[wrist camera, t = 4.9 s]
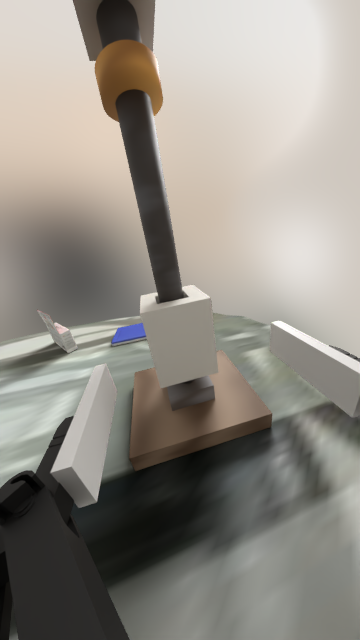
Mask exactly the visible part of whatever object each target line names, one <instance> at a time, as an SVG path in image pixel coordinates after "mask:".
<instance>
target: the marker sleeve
mask: <svg viewBox="0 0 360 640" xmlns="http://www.w3.org/2000/svg"><path fill="white" fill-rule="evenodd" d="M182 291H183V297H184V298H183V299H178V300H174V301H169V302H165V303H160V302H159V297H158V293H157V292H156V293H151V294H147V295H142V296H141V302H140V316H141V319H142V323H143V326H144V330H145V334H146V337H147V341H148V344H149V348H150V352H151V355H152V359H153V362H154V366H155V370H156V373H157V377H158V380H159V384H160V388H164V387H168V386H171V385H175V384H179V383H182V382H186V381H189V380H193V379H197V378H200V377H204V376H208V375H211V374H215V373H218V363H217V353H216V343H215V333H214V324H213V314H212V304H211V297H209V296H208V295H206V294H205V293H204V292H202V291H201V290H199V289H198V288H196V287H195V286H194V285H189V286H185V287H182Z"/></svg>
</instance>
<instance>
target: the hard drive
mask: <svg viewBox="0 0 360 640" xmlns="http://www.w3.org/2000/svg"><path fill="white" fill-rule="evenodd" d="M144 339H147V337H146V334H145V330H144V326H143V323H140V324H135V325H131V326H126V327H121V328H118V329H117V332H116V334H115V336H114V338H113V340H112V346H116V345H120V344H125V343H130V342H135V341H139V340H144Z"/></svg>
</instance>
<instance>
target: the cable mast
mask: <svg viewBox="0 0 360 640" xmlns="http://www.w3.org/2000/svg"><path fill="white" fill-rule="evenodd" d="M73 3H74V6H75V10H76V14H77V17H78V21H79V24H80V28H81V31H82V34H83V38H84V42H85V45H86V49H87V52H88V56H89V60H90V61H96V63H95V74H96V79H97V83H98V87H99V91H100V95H101V100H102V104H103V107H104V110H105V112H106V113H107V115H108V116H109V117H111V118H112V119H114V120H115V121H118V122H119V123H120V128H121V132H122V137H123V141H124V146H125V150H126V155H127V159H128V163H129V168H130V173H131V177H132V181H133V185H134V190H135V194H136V199H137V204H138V208H139V213H140V217H141V222H142V226H143V231H144V235H145V239H146V244H147V248H148V253H149V257H150V261H151V266H152V271H153V275H154V280H155V284H156V288H157V293H158V297H159V302H160V303H165V302H169V301H174V300H178V299H183V298H184V297H183V291H182V285H181V279H180V273H179V267H178V261H177V255H176V249H175V243H174V237H173V230H172V224H171V219H170V212H169V206H168V200H167V194H166V188H165V183H164V176H163V170H162V164H161V158H160V152H159V145H158V140H157V133H156V127H155V121H154V116H155V115H156V114H157V113H158V111H159V110H160V108H161V106H162V102H163V96H162V89H161V82H160V75H159V68H158V63H157V60H156V57H155V56H154V54H153V35H154V13H155V0H73ZM216 353H217V363H218V373H215V374H211V375H208V376H204V377H200V378H197V379H193V380H189V381H186V382H182V383H179V384H175V385H171V386H168V387H164V388H160V384H159V380H158V377H157V373H156V370H155V367H154V368H151V369H147V370H143V371H139V372H135V379H134V394H133V409H132V424H131V439H130V454H129V459H130V461H131V463H132V466H133V468H134V470H135V471H137V470H140V469H143V468H147V467H150V466H153V465H156V464H159V463H162V462H165V461H168V460H171V459H174V458H177V457H180V456H183V455H187V454H190V453H193V452H196V451H199V450H202V449H205V448H208V447H211V446H214V445H217V444H220V443H223V442H227V441H230V440H233V439H236V438H239V437H242V436H245V435H248V434H251V433H254V432H257V431H260V430H263V429H266V428H270V427H271V423H272V413H271V411H270V410H269V409H268V408H267V406H266V405H265V404H264V403H263V401H262V400H261V399H260V397H259V396H258V395H257V394H256V392H255V391H254V390H253V389H252V387H251V386H250V385H249V384H248V382H247V381H246V380H245V378H244V377H243V376H242V375H241V373H240V372H239V371H238V370H237V368H236V367H235V366H234V365H233V363H232V362H231V361H230V359H229V358H228V357H227V356H226V354H225V353H224V352H223V351H222V350H219V351H216Z"/></svg>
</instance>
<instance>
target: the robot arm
mask: <svg viewBox="0 0 360 640" xmlns="http://www.w3.org/2000/svg"><path fill="white" fill-rule="evenodd" d="M270 352H272V353H273V354H274V355H275V356H276V357H278V358H279V359H280V360H281V361H283V362H284V363H285V364H286V365H288V366H289V367H290V368H291V369H293V370H294V371H295V372H296V373H298V374H299V375H300V376H301V377H302V378H304V379H305V380H306V381H307V382H309V383H310V384H311V385H312V386H314V387H315V388H316V389H317V390H319V391H320V392H321V393H322V394H324V395H325V396H326V397H327V398H329V399H330V400H331V401H332V402H333V403H335V404H336V405H337V406H338V407H340V408H341V409H342V410H343V411H345V412H346V413H347V414H348V415H350V416H351V417H352V418H354V417H357V416H360V358H357V357H356V356H354V355H352V354H351V355H350V353H348V352H346V351H344V350H342V349H340V348H336V347H333V346H330V345H329V346H328V345H325V344H324V343H322V342H320V341H318V340H316V339H314V338H312V337H310V336H308V335H307V334H305V333H303V332H301V331H299V330H297V329H295V328H293V327H291V326H289V325H287V324H285V323H283V322H281V321H280V320H279V321H275V322H272V323H271V334H270ZM117 392H118V391H117V389H116V386H115V384H114V382H113V379H112V377H111V374H110V372H109V369H108V367H107V365H106V363H105V364H101V365H97V366H95V368H94V370H93V372H92V375H91V377H90V380H89V382H88V384H87V387H86V389H85V392H84V394H83V396H82V399H81V401H80V403H79V406H78V408H77V411H76V413H75V415H74V416H72V417H68V418H65V420H64V421H63V422H62V423H61V424H60V426H59V427H58V428H57V430H56V432H55V434H54V436H53V440H51V442H50V445H49V448H48V449H47V451H46V453H45V455H44V457H43V459H42V461H41V463H40V465H39V467H38V469H37V471H36V473H34V472H33V471H24V472H21V473H18V474H17V475H15V476H14V477H12V478H11V479H10V480H8V481H7V482H6V483H5V484H4V485H3V486H2V487H1V488H0V640H9V631H10V620H11V610H12V599H13V606H14V612H15V619H16V626H17V632H18V639H19V640H130V639H129V637H128V635H127V633H126V631H125V629H124V626H123V624H122V622H121V620H120V618H119V616H118V613H117V611H116V609H115V607H114V605H113V603H112V600H111V598H110V596H109V594H108V592H107V590H106V587H105V585H104V583H103V581H102V579H101V577H100V574H99V572H98V570H97V568H96V566H95V564H94V561H93V559H92V557H91V555H90V553H89V551H88V548H87V546H86V544H85V542H84V540H83V538H82V535H81V533H80V531H79V529H78V527H77V524H76V522H75V520H74V518H73V516H72V515H71V510H72V506H73V503H74V502H75V504H76V505H77V506H78V507H79V508H81V507H84V506H87V505H90V504H93V503H96V502H97V499H98V494H99V488H100V483H101V478H102V472H103V467H104V462H105V456H106V451H107V445H108V440H109V435H110V429H111V424H112V419H113V413H114V408H115V403H116V397H117Z"/></svg>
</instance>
